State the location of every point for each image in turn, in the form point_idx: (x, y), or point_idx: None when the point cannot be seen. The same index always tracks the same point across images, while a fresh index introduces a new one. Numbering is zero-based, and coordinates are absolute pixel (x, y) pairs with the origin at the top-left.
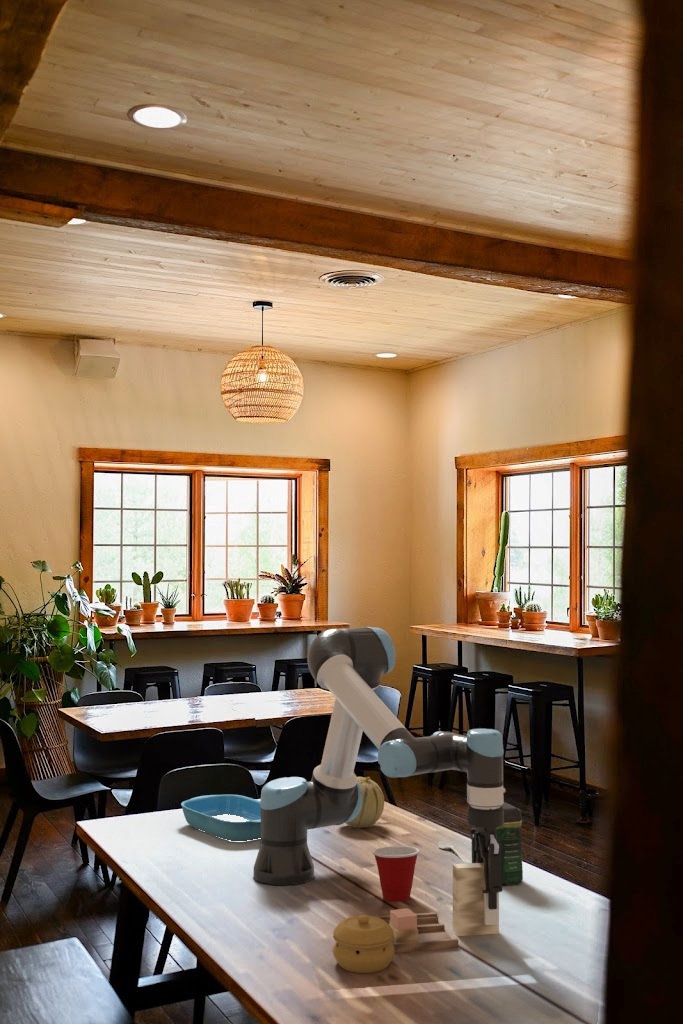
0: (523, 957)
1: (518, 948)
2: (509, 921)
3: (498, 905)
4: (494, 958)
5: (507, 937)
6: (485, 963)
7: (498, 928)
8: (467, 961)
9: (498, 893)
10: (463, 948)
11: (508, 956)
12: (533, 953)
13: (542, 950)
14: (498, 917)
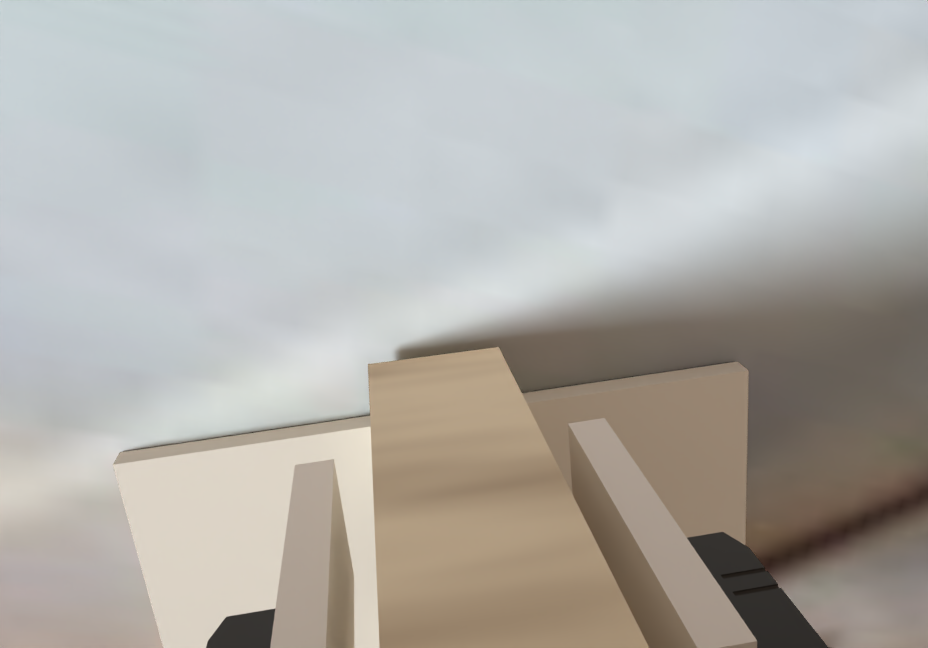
0: (897, 222)
1: (716, 218)
2: (13, 138)
3: (565, 481)
4: (860, 438)
5: (460, 256)
6: (923, 508)
7: (510, 374)
8: (862, 610)
9: (608, 571)
10: None
11: (850, 333)
12: (842, 116)
13: (799, 12)
14: (529, 416)
